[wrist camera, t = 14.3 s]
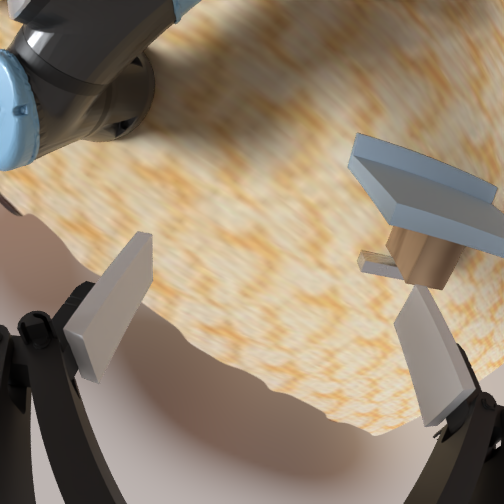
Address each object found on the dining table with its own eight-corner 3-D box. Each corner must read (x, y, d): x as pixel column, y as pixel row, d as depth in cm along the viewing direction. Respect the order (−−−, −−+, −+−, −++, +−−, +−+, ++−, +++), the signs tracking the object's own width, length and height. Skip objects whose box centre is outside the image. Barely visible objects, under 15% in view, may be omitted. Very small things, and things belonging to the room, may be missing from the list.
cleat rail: (356, 261, 46) (360, 271, 44) (361, 250, 45) (365, 260, 43) (427, 275, 46) (433, 285, 44) (432, 265, 45) (438, 275, 43)
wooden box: (383, 250, 45) (402, 289, 36) (407, 186, 39) (436, 214, 31) (416, 258, 45) (439, 295, 36) (441, 197, 39) (473, 227, 31)
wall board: (347, 167, 39) (388, 224, 24) (356, 132, 36) (408, 168, 21) (484, 212, 39) (546, 272, 24) (494, 185, 37) (563, 238, 21)
